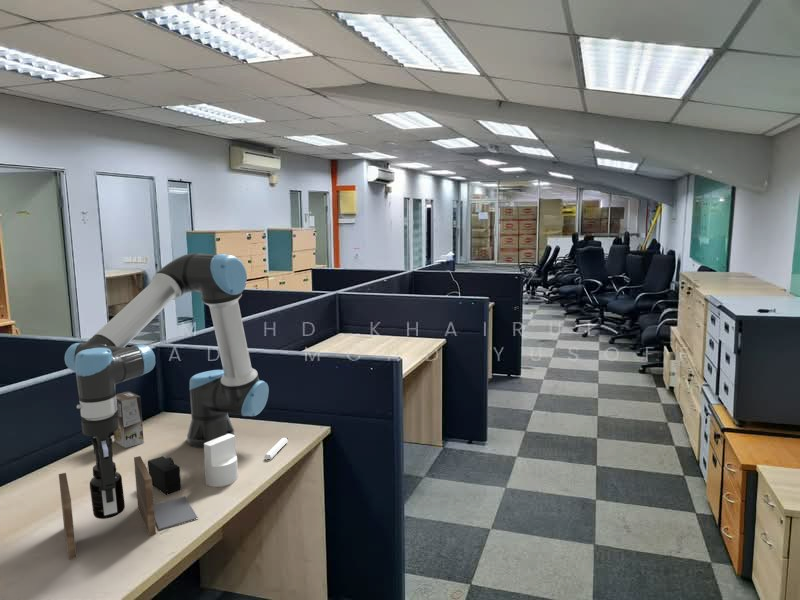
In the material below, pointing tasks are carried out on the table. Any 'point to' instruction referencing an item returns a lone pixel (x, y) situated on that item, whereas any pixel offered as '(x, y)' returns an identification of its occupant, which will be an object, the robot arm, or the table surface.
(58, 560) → the table surface
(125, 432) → the coffee box
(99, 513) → the supplement bottle
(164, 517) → the zone mat
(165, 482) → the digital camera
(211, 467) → the base with upright slab
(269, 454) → the marker
